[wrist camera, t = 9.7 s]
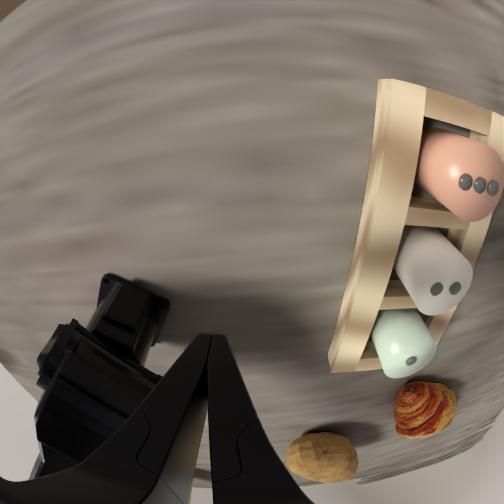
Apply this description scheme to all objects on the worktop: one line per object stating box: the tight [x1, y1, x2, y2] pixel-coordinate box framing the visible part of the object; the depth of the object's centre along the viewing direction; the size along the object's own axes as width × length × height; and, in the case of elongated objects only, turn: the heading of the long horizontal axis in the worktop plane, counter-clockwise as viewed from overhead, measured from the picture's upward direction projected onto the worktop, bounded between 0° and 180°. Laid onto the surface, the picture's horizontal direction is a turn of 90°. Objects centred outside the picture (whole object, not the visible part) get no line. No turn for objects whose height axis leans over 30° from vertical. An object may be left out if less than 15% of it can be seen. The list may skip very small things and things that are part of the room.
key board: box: [328, 79, 504, 373], centre depth 21 cm, size 25×11×2 cm, turn 179°
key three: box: [414, 128, 504, 222], centre depth 16 cm, size 5×5×6 cm
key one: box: [370, 308, 437, 378], centre depth 23 cm, size 5×5×6 cm
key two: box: [393, 225, 473, 315], centre depth 20 cm, size 5×5×6 cm
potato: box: [286, 432, 358, 483], centre depth 35 cm, size 10×14×8 cm
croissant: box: [394, 381, 457, 439], centre depth 33 cm, size 21×10×8 cm
